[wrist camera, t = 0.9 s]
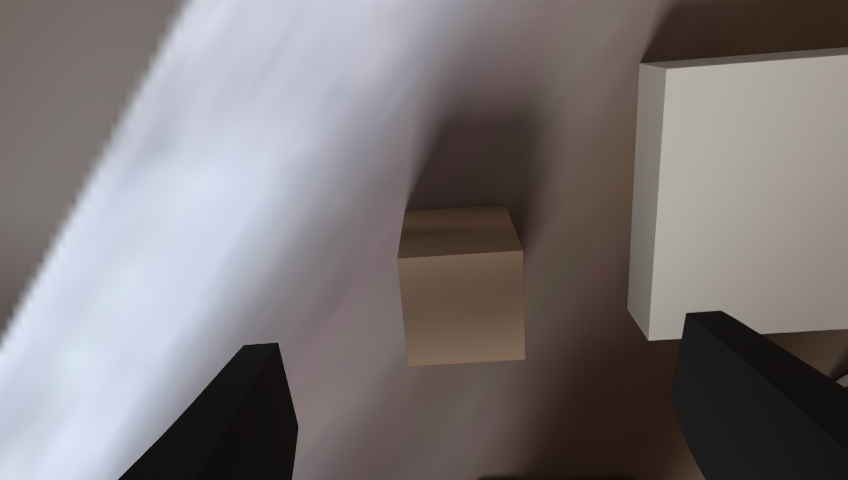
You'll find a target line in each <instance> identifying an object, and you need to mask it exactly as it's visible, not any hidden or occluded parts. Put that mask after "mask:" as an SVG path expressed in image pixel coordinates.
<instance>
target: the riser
mask: <svg viewBox="0 0 848 480" xmlns="http://www.w3.org/2000/svg"><path fill="white" fill-rule="evenodd" d="M627 310H628V311H629V313H630V314H631V316H632V317H633V319H634V320H635V322H636V323H637V325H638V326H639V327H640V329H641V330H642V332H643V333H644V335H645V336H646V338H647V339H648V341H652V340H669V339H682V333H683V327H684V322H685V316H686V313H693V312H706V311H720V310H721V311H723V312H725V313H727V314H728V315H730V316H732V317H734V318H735V319H737V320H739V321H740V322H742V323H743V324H745V325H747V326H748V327H750V328H751V329H753V330H755V331H756V332H758V333H759V334H770V333H787V332H803V331H820V330H837V329H848V47H841V48H829V49H816V50H803V51H791V52H778V53H765V54H753V55H740V56H727V57H715V58H702V59H689V60H677V61H664V62H651V63H640V69H639V89H638V109H637V128H636V148H635V168H634V188H633V207H632V227H631V247H630V267H629V287H628V306H627Z"/></svg>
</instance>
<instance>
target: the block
mask: <svg viewBox="0 0 848 480" xmlns="http://www.w3.org/2000/svg"><path fill="white" fill-rule="evenodd" d="M397 260H398V270H399V280H400V290H401V300H402V310H403V320H404V330H405V340H406V349H407V359H408V366H420V365H438V364H455V363H473V362H491V361H508V360H525V319H524V264H523V249H522V246H521V243H520V241H519V238H518V236H517V233H516V231H515V228H514V225H513V223H512V220H511V218H510V215H509V213H508V210H507V207H506V205H505V204H503V205H489V206H474V207H460V208H445V209H430V210H416V211H405V213H404V220H403V226H402V232H401V239H400V245H399V251H398V258H397Z"/></svg>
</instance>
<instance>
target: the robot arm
mask: <svg viewBox="0 0 848 480" xmlns="http://www.w3.org/2000/svg"><path fill="white" fill-rule="evenodd" d="M671 402H672V405H673V408H674V410H675V413H676V416H677V418H678V421H679V424H680V426H681V429H682V431H683V434H684V436H685V439H686V441H687V444H688V446H689V448H690V451H691V453H692V455H693V457H694V459H695V461H696V463H697V465H698V467H699V468H700V470H701V472H702V474H703V476H704V478H705V480H848V389H847V388H845V387H844V386H842V385H840V384H839V383H837V382H835V381H834V380H832V379H831V378H829V377H827V376H826V375H824V374H822V373H821V372H819V371H818V370H816V369H814V368H813V367H811V366H810V365H808V364H806V363H805V362H803V361H802V360H800V359H799V358H797V357H795V356H794V355H792V354H791V353H789V352H788V351H786V350H784V349H783V348H781V347H780V346H778V345H777V344H775V343H774V342H772V341H770V340H769V339H767V338H766V337H764V336H763V335H761V334H759V333H758V332H756V331H755V330H753V329H751V328H750V327H748V326H747V325H745V324H743V323H742V322H740V321H739V320H737V319H735V318H734V317H732V316H730V315H728V314H727V313H725V312H723V311H721V310H720V311H706V312H693V313H686V316H685V322H684V327H683V333H682V339H681V344H680V350H679V356H678V361H677V367H676V373H675V378H674V384H673V390H672V395H671ZM297 434H298V423H297V419H296V415H295V411H294V407H293V402H292V398H291V394H290V390H289V386H288V382H287V378H286V374H285V370H284V366H283V362H282V357H281V353H280V349H279V345H278V343H268V344H254V345H244V346H243V347H242V348H241V349H240V350H239V351H238V352H237V353H236V354H235V356H234V357H233V358H232V359H231V360H230V361H229V362H228V363H227V364H226V366H225V367H224V368H223V369H222V370H221V371H220V372H219V373H218V375H217V376H216V377H215V378H214V379H213V380H212V381H211V382H210V384H209V385H208V386H207V387H206V388H205V389H204V390H203V391H202V393H201V394H200V395H199V396H198V397H197V398H196V399H195V400H194V402H193V403H192V404H191V405H190V406H189V407H188V408H187V409H186V410H185V411H184V412H183V414H182V415H181V416H180V417H179V418H178V419H177V420H176V421H175V422H174V423H173V424H172V425H171V427H170V428H169V429H168V430H167V431H166V432H165V433H164V434H163V435H162V436H161V437H160V438H159V439H158V440H157V441H156V442H155V443H154V444H153V445H152V446H151V447H150V448H149V449H148V450H147V451H146V452H145V453H144V454H143V455H142V456H141V457H140V458H139V459H138V460H137V461H136V462H135V463H134V464H133V465H132V466H131V467H130V468H129V469H128V470H127V471H126V472H125V473H124V474H123V475H122V476H121V477H120V478H119V479H118V480H292V475H293V467H294V460H295V452H296V443H297Z"/></svg>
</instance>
